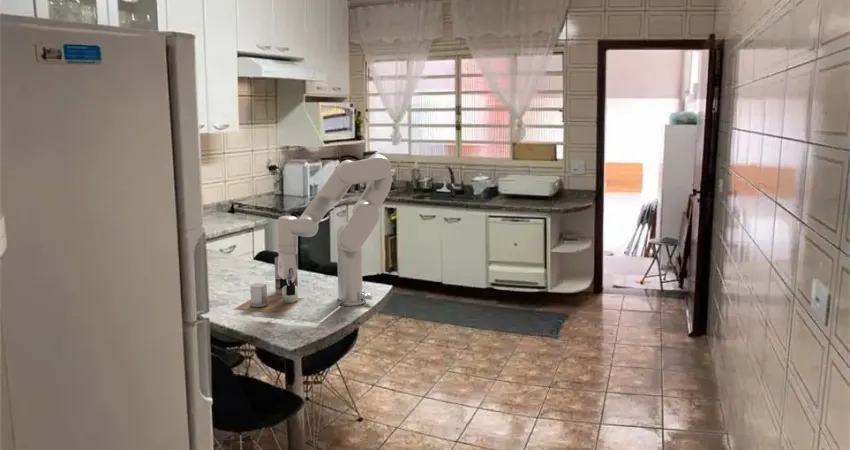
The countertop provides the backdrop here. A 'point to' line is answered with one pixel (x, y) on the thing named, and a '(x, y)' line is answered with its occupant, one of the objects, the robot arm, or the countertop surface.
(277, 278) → the coffee box
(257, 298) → the grey piece
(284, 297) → the cap
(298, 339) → the countertop surface
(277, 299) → the base board
